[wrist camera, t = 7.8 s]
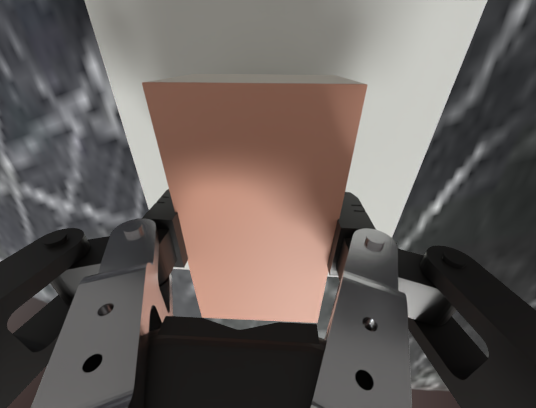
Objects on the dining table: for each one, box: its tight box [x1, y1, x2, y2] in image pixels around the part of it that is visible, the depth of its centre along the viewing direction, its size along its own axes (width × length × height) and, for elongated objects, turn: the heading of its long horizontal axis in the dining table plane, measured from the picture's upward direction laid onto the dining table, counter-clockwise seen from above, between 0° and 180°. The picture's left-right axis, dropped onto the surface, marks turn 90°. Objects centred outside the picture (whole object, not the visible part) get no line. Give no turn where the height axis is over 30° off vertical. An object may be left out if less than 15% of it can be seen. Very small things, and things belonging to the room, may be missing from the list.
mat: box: [84, 0, 487, 277], centre depth 13 cm, size 15×15×1 cm
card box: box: [142, 74, 367, 323], centre depth 10 cm, size 10×6×4 cm, turn 0°
